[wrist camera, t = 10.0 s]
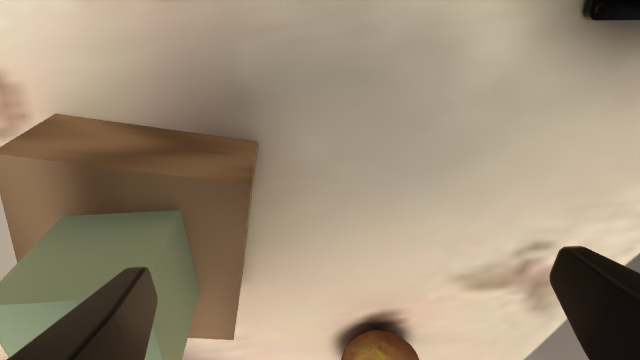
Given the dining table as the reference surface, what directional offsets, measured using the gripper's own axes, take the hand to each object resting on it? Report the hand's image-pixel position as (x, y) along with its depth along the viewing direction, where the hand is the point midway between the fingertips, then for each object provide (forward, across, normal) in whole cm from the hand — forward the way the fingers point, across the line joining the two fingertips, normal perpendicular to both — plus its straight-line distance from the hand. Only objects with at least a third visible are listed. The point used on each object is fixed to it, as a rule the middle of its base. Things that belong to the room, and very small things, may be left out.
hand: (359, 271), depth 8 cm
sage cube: (+8, +9, +6) cm, 13 cm away
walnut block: (+13, +9, +6) cm, 17 cm away
